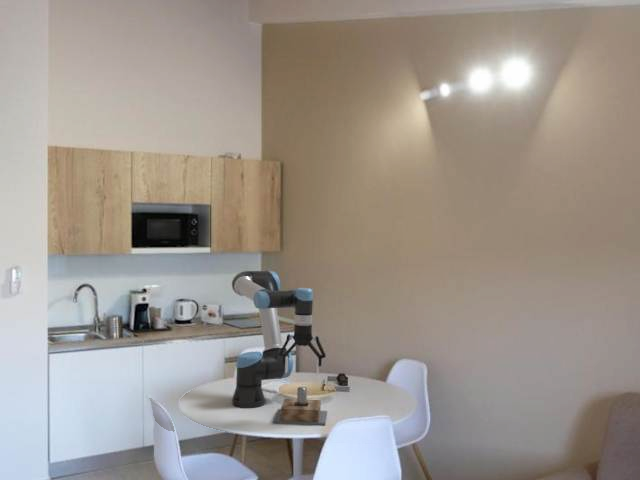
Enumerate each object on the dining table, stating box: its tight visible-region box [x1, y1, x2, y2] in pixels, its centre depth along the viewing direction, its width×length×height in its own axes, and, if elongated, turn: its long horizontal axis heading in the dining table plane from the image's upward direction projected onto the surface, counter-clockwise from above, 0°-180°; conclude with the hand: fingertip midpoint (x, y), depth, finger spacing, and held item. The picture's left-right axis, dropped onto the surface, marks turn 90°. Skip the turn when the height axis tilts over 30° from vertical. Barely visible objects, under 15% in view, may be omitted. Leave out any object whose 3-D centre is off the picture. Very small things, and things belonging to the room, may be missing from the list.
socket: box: [272, 398, 328, 426], centre depth 292 cm, size 22×18×6 cm
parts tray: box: [323, 375, 351, 392], centre depth 351 cm, size 13×22×2 cm, turn 177°
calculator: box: [261, 379, 295, 394], centre depth 344 cm, size 13×20×2 cm, turn 148°
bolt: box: [336, 372, 348, 386], centre depth 351 cm, size 6×5×15 cm
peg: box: [296, 386, 308, 406], centre depth 292 cm, size 4×4×12 cm
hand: (301, 372), depth 292 cm, fingers open, 13 cm apart
